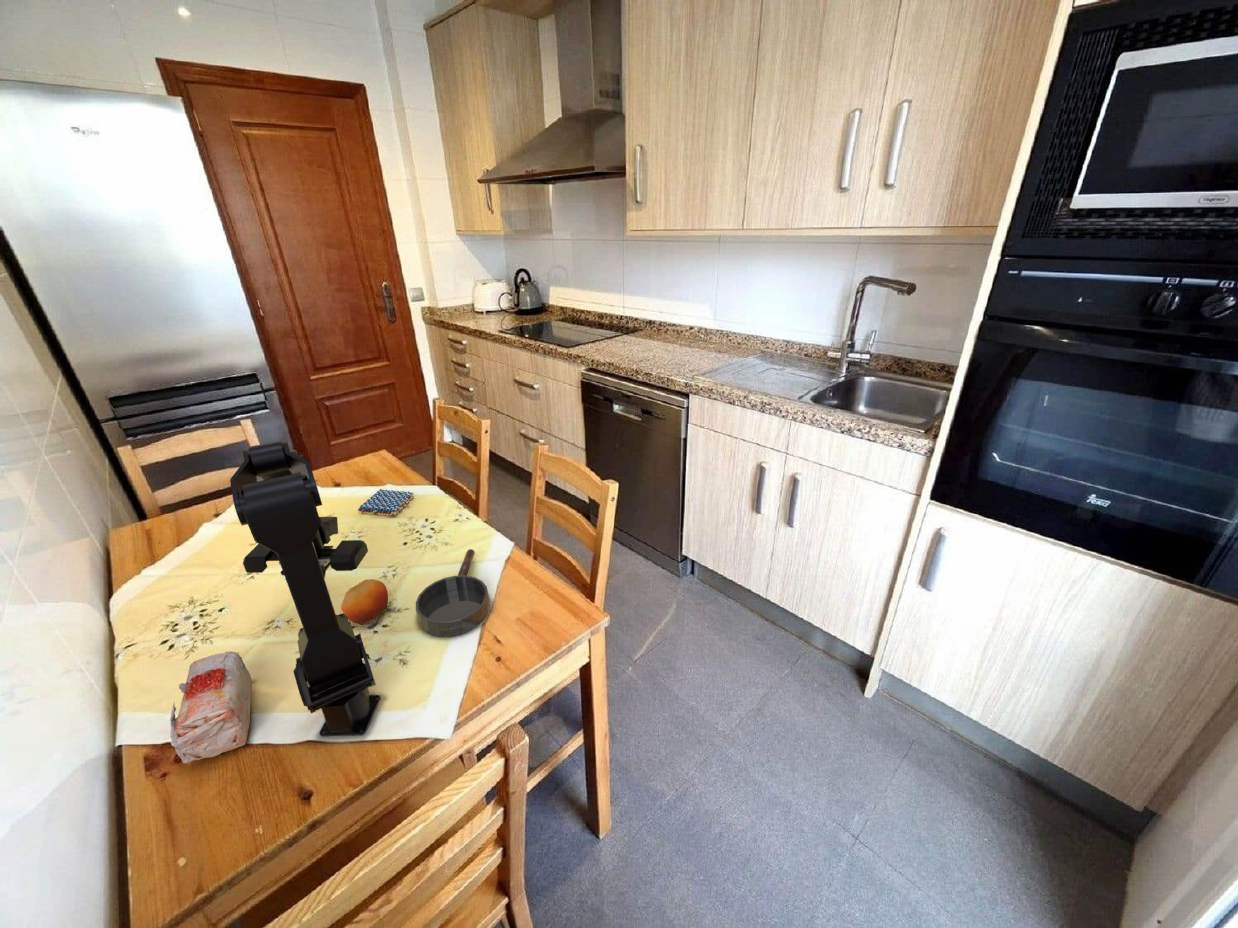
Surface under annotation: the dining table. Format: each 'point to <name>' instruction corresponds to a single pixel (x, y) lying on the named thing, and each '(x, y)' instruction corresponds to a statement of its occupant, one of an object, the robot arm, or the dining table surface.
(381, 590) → the fruit
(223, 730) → the food item
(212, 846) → the dining table surface
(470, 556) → the pan handle
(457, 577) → the pan
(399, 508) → the woven mat
